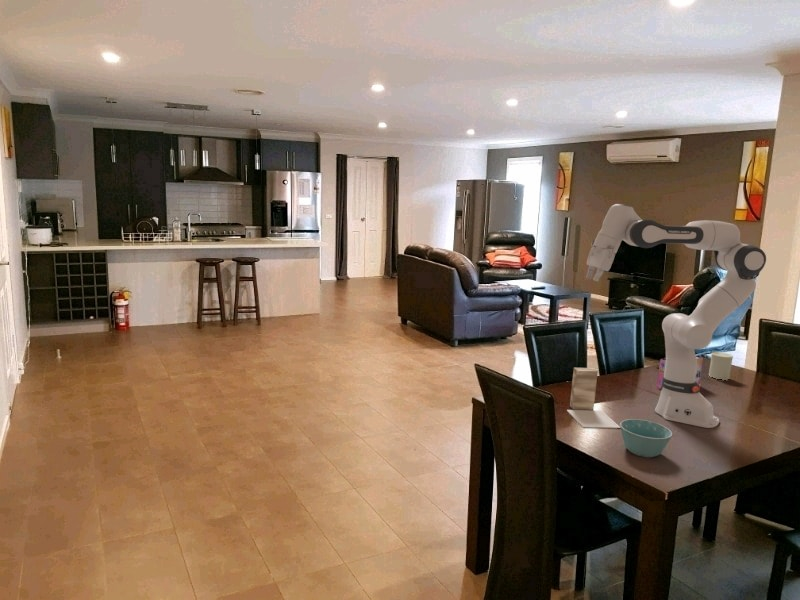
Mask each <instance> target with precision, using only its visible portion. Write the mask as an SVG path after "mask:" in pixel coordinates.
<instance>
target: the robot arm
mask: <svg viewBox="0 0 800 600" xmlns="http://www.w3.org/2000/svg"><path fill="white" fill-rule="evenodd" d="M622 241H623V242H625V243H626V244H627V245H629V246H633V247H640V248H643V249H650V248H654V247H656V246H658V245H661V244H682V245H684V246H685V247H687V248H689V249H692V250H700V251H713V259H714V263H715V264H716V266H717V267H718V268H720V269H721V270H723V271H726V274H725V276H724V277H723V279H722V280H721V281H720V282H718V283H717V284H716V285H715V286H714V287H712V288H711V289H710V290H709V291H708V292H706V293H705V294H704V295H703V296H701V298H699V300H698V302H697V306H696V307H695V309H693V311H692V313H690V314H689V315H688V314H685V313H679V312H677V313H676V312H675V313H670V314H668V315H666V316H665V317H664V318H663V320H662V322H661V329H662V331H663V336H664V347H665V348H664V349H665V358H666V363H665V371H664V376H663V378H662V382H661V389H660V394H659V398H658V401H657V404H656V407H655V409H654V412H655V413H656V414H658V415H659V416H661V417H662V418H663V419H665V420H668V421H672V422H677V423H682V424H685V425H686V424H687V425H691V426H695V427H701V428H704V429H705V428H706V429H709V428H710V429H711V428H716V427H717V426H718V425H719V423H720V419H719V417H717V416H715V415H714V406H713V404H712V403H711V402H710V401H709V400H708V399H707V398H706V397H704V395H702V393H701V392H700V391H701V385H702V384H701V383H700V384H698V383H697V382H696V381H695V378H696V371H697V359H696V357H697V356H696V353H695V350H702V349H705V348H707V347H708V346H710V344H711V342H712V340H713V334H714V332H715V330H716V329H717V328H718V327H719V325H720V324H721V323H722V322H723V321H724V320H725V319H726V318H727V317H728V316H729V315H731V314H732V313H733V312H734V311H736V310H737V309H738V308H739V307H740V306H741V305H742V304H743V303H744V302H746V301H747V300H748V299H749V298H750V296H751V295H752V294H753V293H754V292H755V290H756V286H757V283H756V281H755V279H756V278H757V277H758V276H759V275H760V273H761V271H762V270H763V269H764V268H765V265H766V262H767V255H766V253H765V251H763V249H761V247H758V246H756V245H752V244H747V243H742V241H741V231H740V229H739V227H738V226H737V225H736V224H734V223H730V222H727V221H722V220H721V221H720V220H711V219H710V220H709V219H708V220H707V219H704V220H694V221H690V222H688V223H687V224H686V225H664V224H661V223H659V222H658V221H655V220H652V219H642V218H641V217H640V216H639V215H638V214H637V212H636V211H635V209H634V207H633V206H631V205H627V204H623V203H621V204H620V203H615V204H613V205H611V206H610V207H609V209H608V211H607V213H606V214H605V217H604V219H603V221H602V225H601V228H600V230H599V231H598V232H597V235H596V237H595V239H593V240H592V242H591V244H590V245H591V248H590V250H589V253H588V256H587V259H586V263H585V264H586V266H588V268H587V273H586V276H585V278H587V279H592V280H593V281H594V282H599V281H600V278H601V277H602V275H603V274H604V272H609V271H610V269H611V267H612V264H613V263H614V260H615V256H616V254H617V252H618V249H619V248H620V246H621V243H622ZM594 271H596V272H595V274H594ZM593 274H594V275H593Z"/></svg>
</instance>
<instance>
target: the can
mask: <svg viewBox="0 0 800 600" xmlns="http://www.w3.org/2000/svg"><path fill="white" fill-rule="evenodd" d="M733 358H734V356H733V355H732V354H729V353H725V352H713V351H712V352H711V357H710V362H709V363H710V364H709V370H708V375H709V376H710V377H713V378H716V379H715V380H717V379H722V380H721V381H724V380H726V381H728V380H727V379H731V378H730V377H731V370H732V363H733ZM709 376H708V377H709ZM710 377H709V378H710ZM713 378H712V379H713Z"/></svg>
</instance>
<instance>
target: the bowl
mask: <svg viewBox="0 0 800 600" xmlns="http://www.w3.org/2000/svg"><path fill="white" fill-rule="evenodd" d="M619 426H620V427H621V429H620V430H621V431H620V432H621V436H622V438H623V439H622V440H623V444H624V446H625V448H626V449H627V450H628V451H629V452H630V453H632V454H633V455H636V456H639V457H643V458H655V457H657V456H660V455H661V454H662V453H663V451H664V450H665V449H666V446H667V445H668V443H669V441H670V440H671V439H672V436H673V432H672V431H671V430H670V429H669V428H668V427H666V426H664V425H663V424H660V423H659V422H654V421H651V420H646V419H638V418H633V419H632V418H630V419H629V418H628V419H623V420H622V421H621V422H620V423H619Z"/></svg>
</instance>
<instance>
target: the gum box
mask: <svg viewBox="0 0 800 600" xmlns="http://www.w3.org/2000/svg"><path fill="white" fill-rule="evenodd" d="M703 358H704V357H702V356H700V357H698V356H696V359H697V371H696V378H695V381H696V382H697V383H698V384H701V380H702V378H701V377H702V367H703V361H704V360H703ZM665 363H666V357H664V358H661V359H660V360H659V368H658V376H657V383H656V389H658V388H659V389H658V390H661V382H662V378H663V376H664V371H665Z"/></svg>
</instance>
